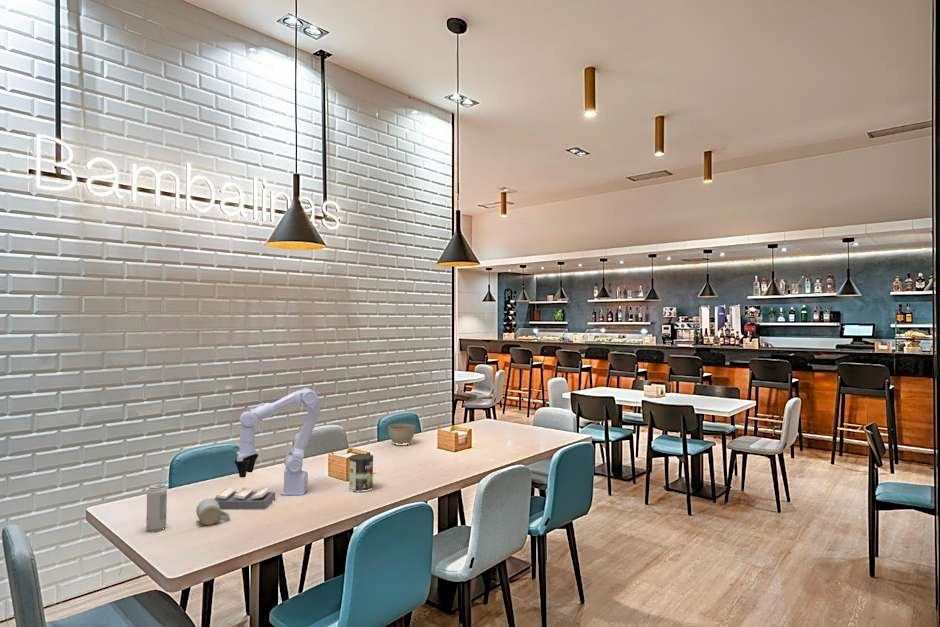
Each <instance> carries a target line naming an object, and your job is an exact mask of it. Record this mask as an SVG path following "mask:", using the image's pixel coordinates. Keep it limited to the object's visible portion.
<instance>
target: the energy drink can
mask: <svg viewBox="0 0 940 627" xmlns="http://www.w3.org/2000/svg"><path fill="white" fill-rule="evenodd" d="M167 495H168V488H167V487H166V484H165V483H154V484H151V485H149V486H148V489H147V492H146V522H145V523H146V526H145V527H146V529H147V530H148V532H150V531H155V532H159V530H160V531H162V529H163V528H164V529H165V527H166V526H167V513H168V512H167V511H168V510H167V509H168V508H167V507H168V506H167V504H168V503H167V501H168V500H167V499H168V498H167V497H168V496H167ZM164 529H163V530H164Z"/></svg>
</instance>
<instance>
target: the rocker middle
mask: <svg viewBox="0 0 940 627" xmlns="http://www.w3.org/2000/svg"><path fill="white" fill-rule="evenodd" d="M236 492H237V493H236V494H235V495H234V497H236V498H238V499H240V498H241V499H245V498H246V497H247V496H249V495H250V494H251V493H252V492H254V489H253V488H247V487H242V488H241V489H239V490H238V491H236Z"/></svg>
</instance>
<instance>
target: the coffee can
mask: <svg viewBox="0 0 940 627" xmlns="http://www.w3.org/2000/svg"><path fill="white" fill-rule="evenodd" d="M348 457H349V458H348V459H349V464H348V465H349V467H348V468H349V471H348V472H349V476H348V477H349V479H348V480H349V482H348V483H349V484H348V490H349V489H350V490H353V491H362V490H368V489H371V488H372V487H373V488H374V486H373V485H374V481H373V480H374V478H373V477H374V455H373V454H370V453H359V454H358V453H356V454H352V455H350V456H348ZM350 490H349V491H350Z"/></svg>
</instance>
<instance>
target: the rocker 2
mask: <svg viewBox="0 0 940 627" xmlns="http://www.w3.org/2000/svg"><path fill="white" fill-rule="evenodd" d="M256 492H257V493H255V494H254V495H253V496H252V499H256V498H257V499H258V498H260V497H263V496H264V495H265V494H266V493H267V492H271V488H270V487H265V488H262V489H259V490H258V491H256Z"/></svg>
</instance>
